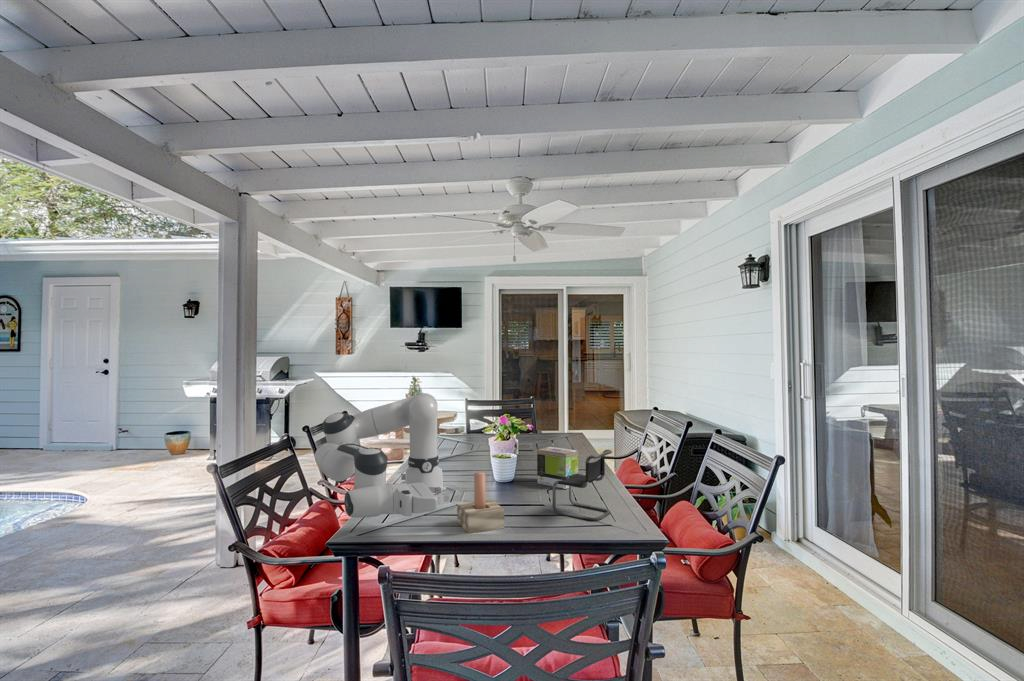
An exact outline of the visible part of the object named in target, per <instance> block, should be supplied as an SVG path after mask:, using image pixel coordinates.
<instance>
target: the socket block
mask: <svg viewBox="0 0 1024 681" xmlns="http://www.w3.org/2000/svg"><path fill="white" fill-rule="evenodd" d="M456 506H457V507H456V512H457V513H456V514H457V515H456V518H457V519H456V521H457V523H458V524H459V526H461V527H462V528H463V530H465V532H466V533H468V534H474V532H476V533H481V532H480V531H482V532H488V530H489V531H494V530H495V531H497V530H501V529H502V528H503V529H505V509H504V508H503V507H502V506H501V505H499V504H498V503H496V502H495V501H494V500H493V499H486V508H484V509H475V503H474V501H466V502H457V504H456ZM503 529H502V530H503Z"/></svg>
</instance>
